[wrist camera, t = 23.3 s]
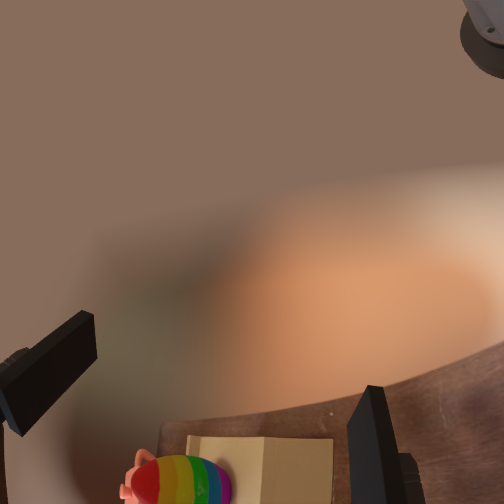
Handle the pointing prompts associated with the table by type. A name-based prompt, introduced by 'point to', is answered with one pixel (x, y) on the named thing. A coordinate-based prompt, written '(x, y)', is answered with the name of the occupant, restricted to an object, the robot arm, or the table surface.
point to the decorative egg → (181, 481)
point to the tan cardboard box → (271, 467)
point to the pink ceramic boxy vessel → (126, 490)
